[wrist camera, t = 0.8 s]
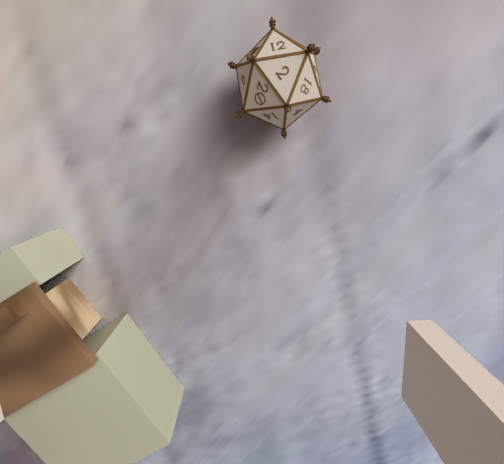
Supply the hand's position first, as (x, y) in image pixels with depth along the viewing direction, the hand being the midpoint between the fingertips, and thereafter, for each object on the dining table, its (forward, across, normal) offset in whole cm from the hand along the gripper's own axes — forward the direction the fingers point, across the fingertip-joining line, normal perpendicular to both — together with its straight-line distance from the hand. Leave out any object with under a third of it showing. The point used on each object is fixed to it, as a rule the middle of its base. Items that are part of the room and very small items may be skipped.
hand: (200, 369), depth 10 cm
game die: (+27, +5, +12) cm, 30 cm away
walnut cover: (+18, -20, -10) cm, 29 cm away
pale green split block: (+26, -18, -14) cm, 35 cm away
